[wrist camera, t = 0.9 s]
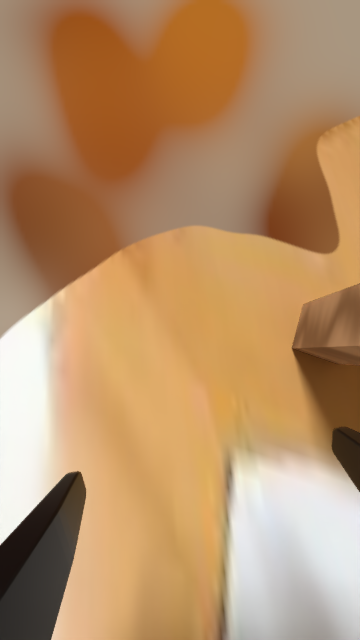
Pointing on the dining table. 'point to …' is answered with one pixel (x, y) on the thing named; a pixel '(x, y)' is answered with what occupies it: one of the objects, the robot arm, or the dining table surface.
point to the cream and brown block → (331, 327)
